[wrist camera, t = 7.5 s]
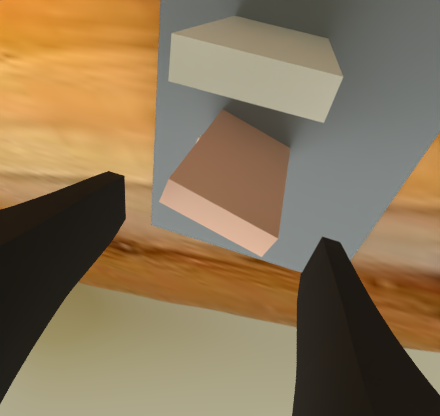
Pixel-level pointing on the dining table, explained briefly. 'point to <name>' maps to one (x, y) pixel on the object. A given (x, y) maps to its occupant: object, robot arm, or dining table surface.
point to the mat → (313, 130)
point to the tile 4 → (258, 65)
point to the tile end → (232, 183)
